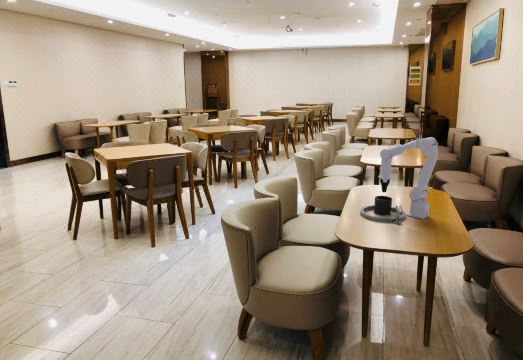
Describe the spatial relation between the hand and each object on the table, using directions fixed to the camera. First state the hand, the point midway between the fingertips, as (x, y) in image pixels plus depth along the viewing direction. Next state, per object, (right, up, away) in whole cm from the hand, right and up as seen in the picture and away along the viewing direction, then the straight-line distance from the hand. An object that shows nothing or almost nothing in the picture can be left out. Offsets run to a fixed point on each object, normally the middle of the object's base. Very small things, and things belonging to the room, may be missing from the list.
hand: (384, 191), depth 244 cm
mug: (-3, -12, -9) cm, 15 cm away
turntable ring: (-5, -13, -14) cm, 19 cm away
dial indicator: (-1, -16, -27) cm, 32 cm away
